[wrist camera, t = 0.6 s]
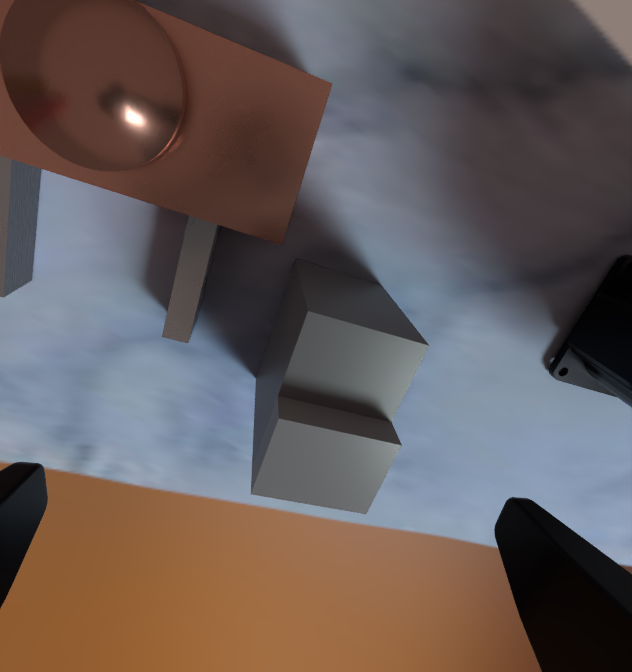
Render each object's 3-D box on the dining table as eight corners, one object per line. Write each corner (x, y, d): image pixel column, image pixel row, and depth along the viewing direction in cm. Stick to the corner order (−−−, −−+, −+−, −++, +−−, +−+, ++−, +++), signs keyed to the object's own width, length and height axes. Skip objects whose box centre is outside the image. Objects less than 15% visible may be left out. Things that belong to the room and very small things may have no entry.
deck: (320, 93, 15) (337, 79, 11) (246, 336, 19) (241, 383, 15) (-63, -65, 12) (-200, -150, 9) (-62, 256, 16) (-157, 289, 12)
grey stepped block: (381, 285, 19) (443, 363, 12) (334, 396, 21) (365, 514, 14) (295, 258, 18) (312, 327, 11) (256, 378, 20) (250, 494, 13)
